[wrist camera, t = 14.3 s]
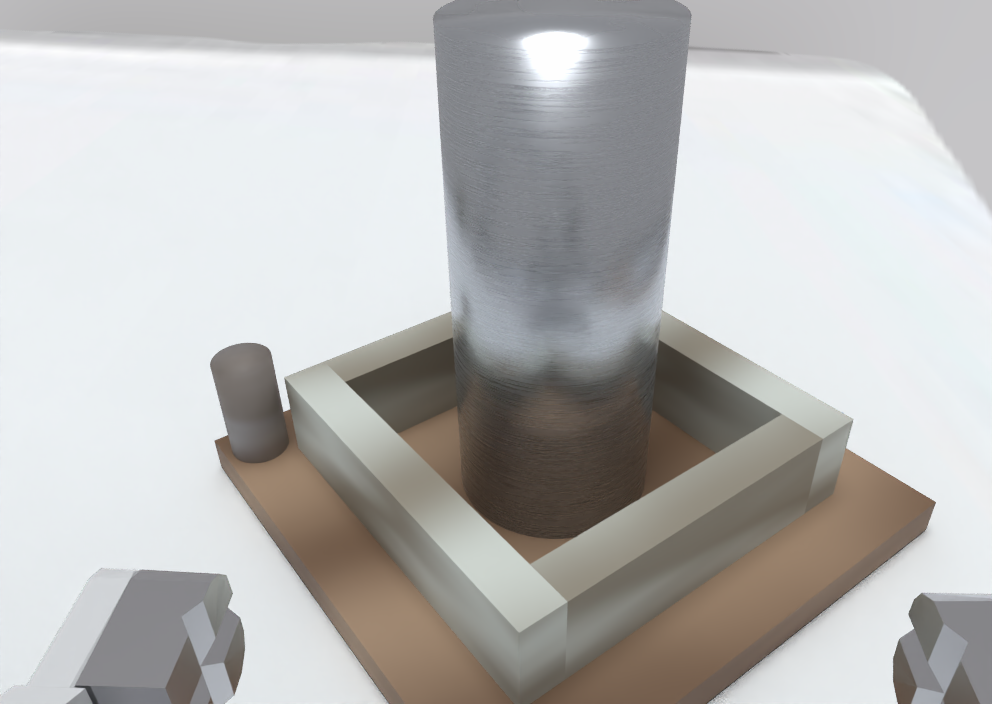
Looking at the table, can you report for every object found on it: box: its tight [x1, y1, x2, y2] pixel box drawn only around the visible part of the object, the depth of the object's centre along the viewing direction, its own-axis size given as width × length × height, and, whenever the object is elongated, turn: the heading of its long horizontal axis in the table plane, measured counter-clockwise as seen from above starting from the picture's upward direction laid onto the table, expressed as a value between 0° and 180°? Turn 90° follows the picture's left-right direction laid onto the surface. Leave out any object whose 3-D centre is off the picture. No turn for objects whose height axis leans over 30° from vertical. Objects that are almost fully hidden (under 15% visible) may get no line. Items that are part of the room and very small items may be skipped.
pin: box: [433, 0, 691, 539], centre depth 20 cm, size 5×5×12 cm
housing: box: [210, 310, 936, 704], centre depth 23 cm, size 14×14×4 cm
